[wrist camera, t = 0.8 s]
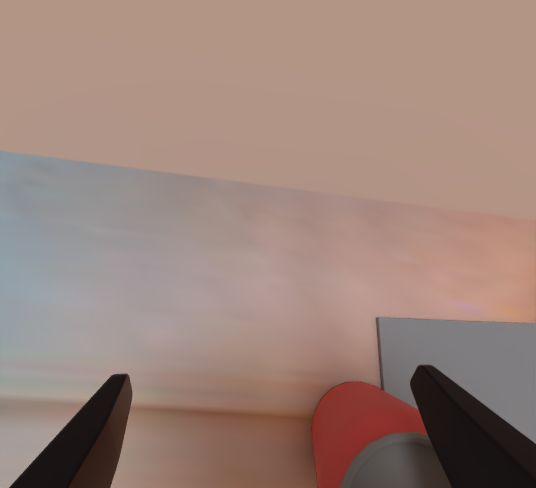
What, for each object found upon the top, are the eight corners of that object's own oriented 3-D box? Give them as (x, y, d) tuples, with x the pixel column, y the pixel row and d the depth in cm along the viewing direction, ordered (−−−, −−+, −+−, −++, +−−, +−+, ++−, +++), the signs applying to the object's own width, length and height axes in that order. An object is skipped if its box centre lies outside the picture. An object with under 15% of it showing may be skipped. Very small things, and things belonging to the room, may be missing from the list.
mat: (629, 597, 18) (639, 603, 17) (397, 582, 18) (400, 588, 18) (555, 325, 23) (561, 324, 23) (376, 317, 23) (378, 317, 23)
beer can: (313, 375, 22) (324, 405, 11) (405, 385, 21) (519, 429, 10) (309, 480, 20) (317, 651, 9) (410, 496, 19) (565, 710, 8)
